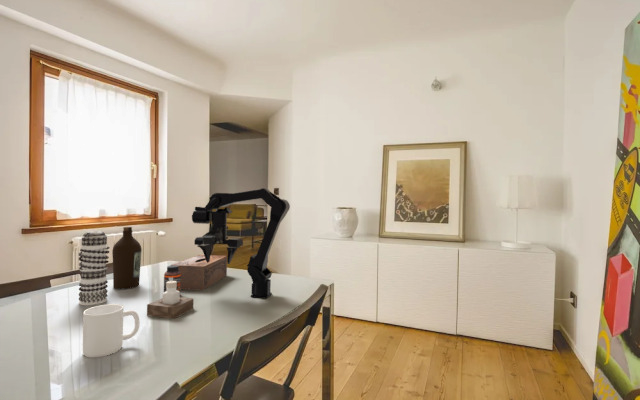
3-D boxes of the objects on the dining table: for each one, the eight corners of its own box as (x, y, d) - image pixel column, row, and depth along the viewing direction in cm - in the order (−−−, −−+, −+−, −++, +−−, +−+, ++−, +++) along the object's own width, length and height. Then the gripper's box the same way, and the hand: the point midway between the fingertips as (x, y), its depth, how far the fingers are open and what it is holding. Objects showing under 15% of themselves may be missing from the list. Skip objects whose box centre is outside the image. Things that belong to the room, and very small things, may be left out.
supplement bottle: (173, 298, 125) (174, 268, 125) (160, 296, 126) (160, 267, 126) (183, 293, 131) (184, 265, 131) (170, 292, 132) (170, 264, 132)
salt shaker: (180, 309, 111) (180, 280, 111) (172, 313, 108) (172, 283, 108) (170, 307, 112) (170, 279, 112) (161, 311, 109) (162, 282, 109)
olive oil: (107, 290, 133) (108, 228, 133) (117, 283, 144) (118, 226, 143) (136, 289, 135) (137, 228, 135) (144, 282, 146) (145, 226, 146)
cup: (83, 347, 83) (83, 307, 83) (137, 337, 90) (138, 300, 90) (81, 361, 76) (82, 317, 76) (140, 349, 83) (141, 308, 83)
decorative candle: (111, 301, 119) (113, 232, 119) (80, 307, 112) (82, 233, 112) (104, 296, 125) (106, 230, 125) (74, 301, 119) (76, 231, 119)
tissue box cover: (198, 275, 164) (198, 254, 164) (226, 276, 162) (227, 255, 162) (169, 288, 138) (170, 265, 138) (203, 290, 137) (203, 266, 137)
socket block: (193, 310, 114) (193, 298, 114) (173, 320, 104) (174, 307, 104) (168, 307, 116) (168, 295, 116) (146, 316, 106) (147, 304, 106)
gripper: (186, 224, 127) (185, 265, 127) (230, 226, 123) (229, 268, 123) (203, 222, 138) (202, 260, 138) (244, 224, 133) (243, 263, 133)
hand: (218, 263), depth 133 cm, fingers open, 9 cm apart
